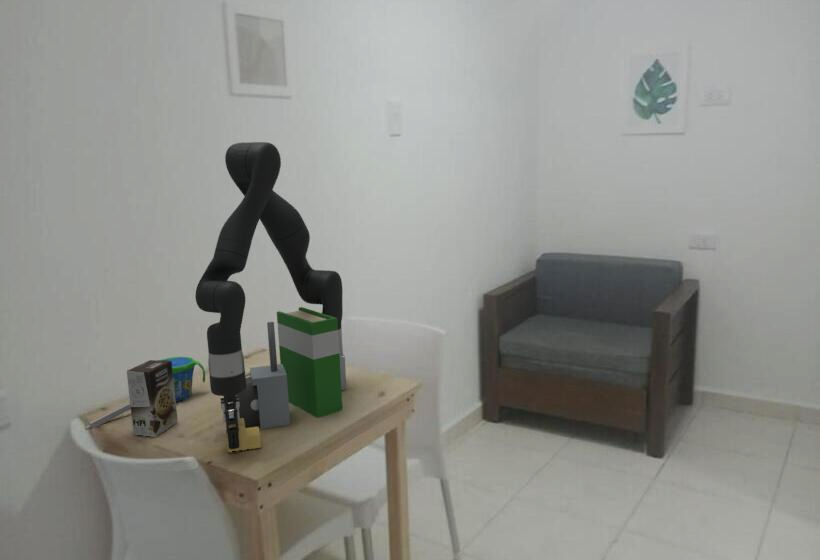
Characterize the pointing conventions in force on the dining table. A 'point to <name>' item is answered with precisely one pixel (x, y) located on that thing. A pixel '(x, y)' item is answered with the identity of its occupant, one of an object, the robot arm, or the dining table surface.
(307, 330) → the hardback book
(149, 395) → the coffee box
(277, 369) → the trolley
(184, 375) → the snack cup
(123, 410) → the caliper
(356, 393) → the dining table surface
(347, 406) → the dining table surface
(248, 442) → the wedge
